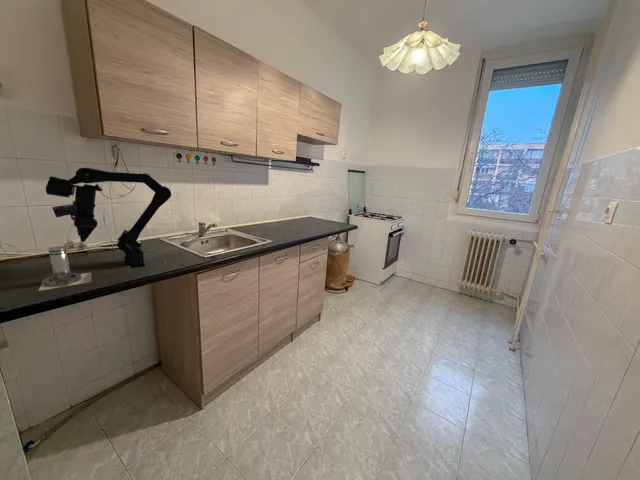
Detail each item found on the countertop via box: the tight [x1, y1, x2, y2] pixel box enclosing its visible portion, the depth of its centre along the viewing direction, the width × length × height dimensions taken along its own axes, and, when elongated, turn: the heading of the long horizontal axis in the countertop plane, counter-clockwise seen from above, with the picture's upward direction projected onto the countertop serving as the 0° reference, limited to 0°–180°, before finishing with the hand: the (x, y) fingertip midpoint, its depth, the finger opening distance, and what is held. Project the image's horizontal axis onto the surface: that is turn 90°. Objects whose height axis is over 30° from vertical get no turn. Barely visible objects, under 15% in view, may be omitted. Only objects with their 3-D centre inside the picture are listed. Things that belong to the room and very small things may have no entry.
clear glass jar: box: [48, 245, 72, 282], centre depth 89 cm, size 4×4×12 cm
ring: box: [42, 272, 82, 287], centre depth 91 cm, size 9×9×1 cm
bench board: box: [38, 272, 92, 292], centre depth 91 cm, size 13×11×1 cm
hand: (81, 238), depth 100 cm, fingers open, 9 cm apart
